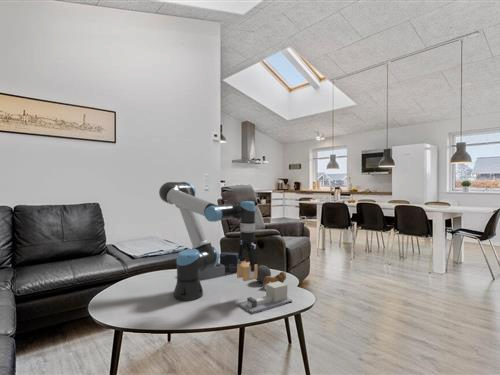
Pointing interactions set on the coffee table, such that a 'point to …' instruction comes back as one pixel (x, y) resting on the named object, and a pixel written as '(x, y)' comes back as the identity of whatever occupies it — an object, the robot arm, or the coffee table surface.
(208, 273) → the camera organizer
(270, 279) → the lion figurine
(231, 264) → the small box
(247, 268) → the block
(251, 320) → the coffee table surface
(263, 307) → the rail board
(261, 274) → the decorative ball
